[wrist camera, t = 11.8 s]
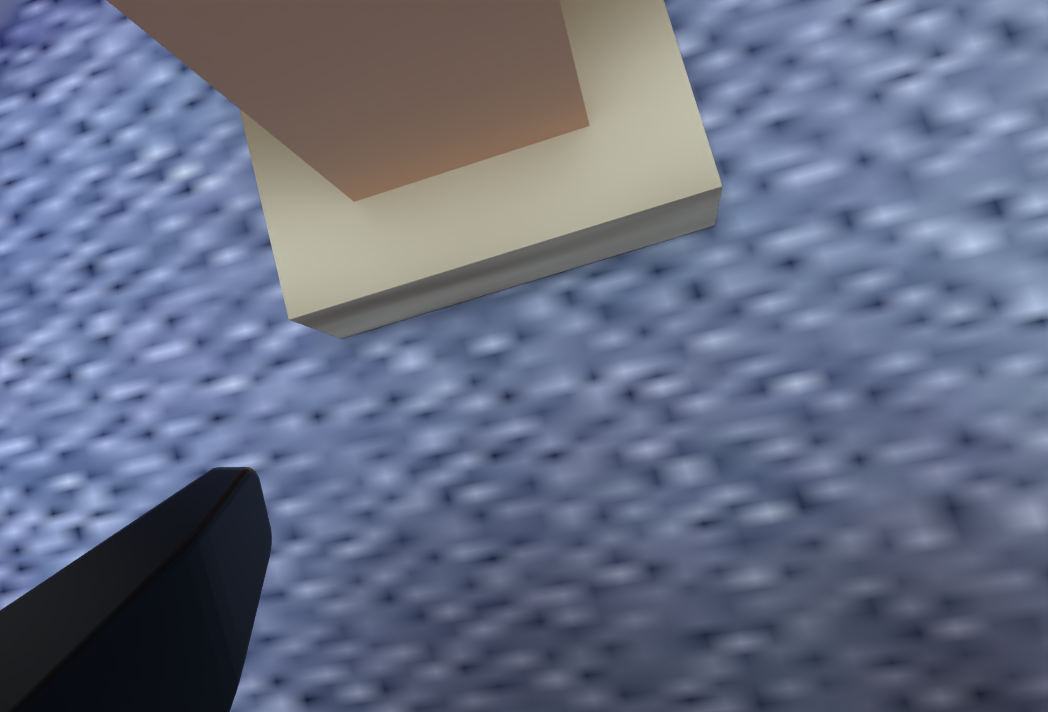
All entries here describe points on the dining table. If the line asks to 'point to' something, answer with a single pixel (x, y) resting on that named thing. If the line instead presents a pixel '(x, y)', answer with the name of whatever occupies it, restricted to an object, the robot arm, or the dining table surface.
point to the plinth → (504, 192)
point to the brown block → (381, 78)
